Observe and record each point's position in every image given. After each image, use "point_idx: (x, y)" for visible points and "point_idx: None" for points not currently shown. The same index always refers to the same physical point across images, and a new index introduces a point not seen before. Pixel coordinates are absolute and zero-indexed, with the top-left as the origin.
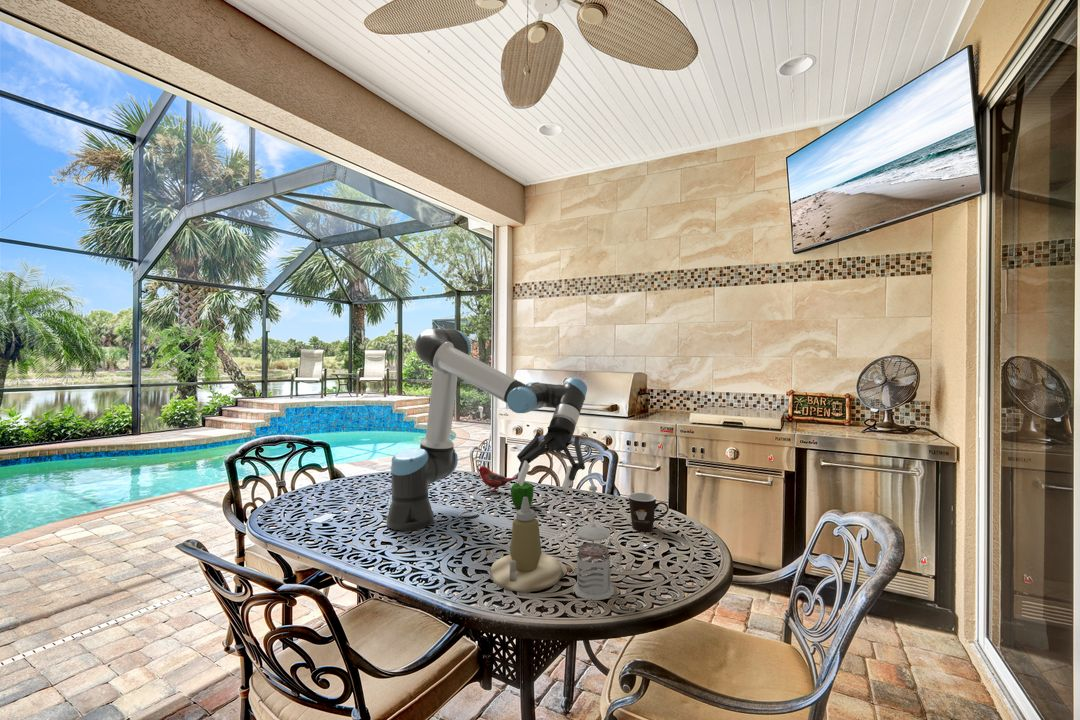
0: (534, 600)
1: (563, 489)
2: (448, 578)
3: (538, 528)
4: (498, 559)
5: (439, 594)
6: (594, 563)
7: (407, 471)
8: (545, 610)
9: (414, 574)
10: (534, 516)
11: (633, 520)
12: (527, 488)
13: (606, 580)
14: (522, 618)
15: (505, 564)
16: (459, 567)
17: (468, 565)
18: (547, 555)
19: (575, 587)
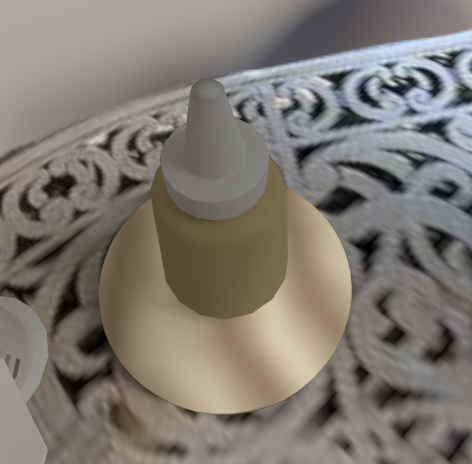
0: (100, 199)
1: (19, 403)
2: (364, 125)
3: (163, 239)
4: (344, 253)
5: (305, 78)
6: None
7: None
8: (48, 187)
9: (443, 84)
10: (174, 200)
11: None
12: None
13: None
14: (76, 135)
15: (294, 244)
16: (407, 174)
17: (402, 198)
18: (236, 409)
19: (25, 314)
